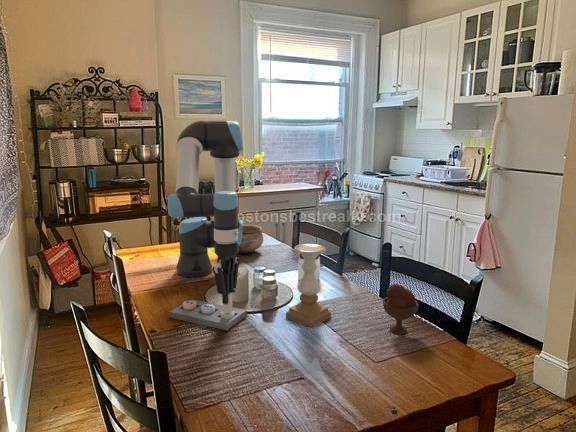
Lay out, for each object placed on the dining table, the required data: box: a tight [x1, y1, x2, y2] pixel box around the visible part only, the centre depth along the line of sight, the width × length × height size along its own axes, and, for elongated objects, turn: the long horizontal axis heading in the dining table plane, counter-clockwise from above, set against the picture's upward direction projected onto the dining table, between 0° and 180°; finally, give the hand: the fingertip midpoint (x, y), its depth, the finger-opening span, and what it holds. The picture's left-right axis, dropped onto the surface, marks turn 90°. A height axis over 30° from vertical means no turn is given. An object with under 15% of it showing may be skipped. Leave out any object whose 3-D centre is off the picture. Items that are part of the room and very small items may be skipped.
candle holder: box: [285, 243, 332, 328], centre depth 145 cm, size 11×11×24 cm
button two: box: [182, 299, 196, 311], centre depth 150 cm, size 4×4×3 cm
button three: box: [201, 303, 215, 315], centre depth 147 cm, size 4×4×3 cm
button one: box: [221, 311, 235, 319], centre depth 144 cm, size 4×4×3 cm
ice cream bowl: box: [382, 283, 420, 336], centre depth 137 cm, size 11×11×15 cm
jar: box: [297, 253, 321, 281], centre depth 184 cm, size 9×8×12 cm
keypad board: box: [169, 298, 247, 331], centre depth 147 cm, size 22×12×2 cm, turn 65°
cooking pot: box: [237, 224, 264, 255], centre depth 222 cm, size 25×19×12 cm
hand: (227, 311), depth 144 cm, fingers closed
